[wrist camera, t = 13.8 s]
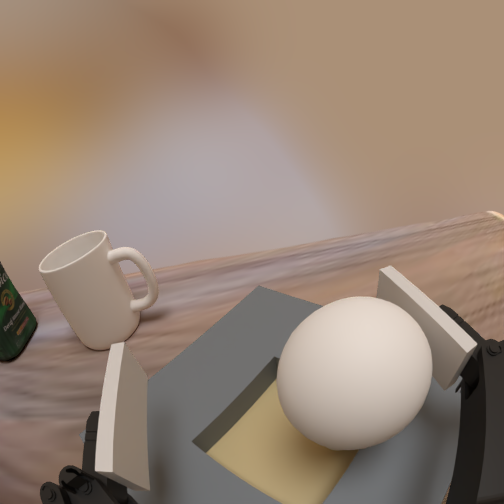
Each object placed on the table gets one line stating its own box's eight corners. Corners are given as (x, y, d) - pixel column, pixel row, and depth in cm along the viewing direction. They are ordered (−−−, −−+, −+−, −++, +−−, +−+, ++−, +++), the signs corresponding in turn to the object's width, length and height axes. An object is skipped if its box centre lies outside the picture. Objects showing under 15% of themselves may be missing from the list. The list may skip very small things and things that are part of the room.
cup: (94, 309, 31) (60, 240, 26) (175, 294, 31) (147, 214, 26) (73, 354, 23) (25, 278, 19) (168, 344, 24) (125, 251, 19)
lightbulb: (290, 485, 11) (265, 430, 5) (287, 402, 16) (266, 275, 10) (392, 467, 10) (486, 376, 5) (375, 388, 15) (412, 254, 10)
